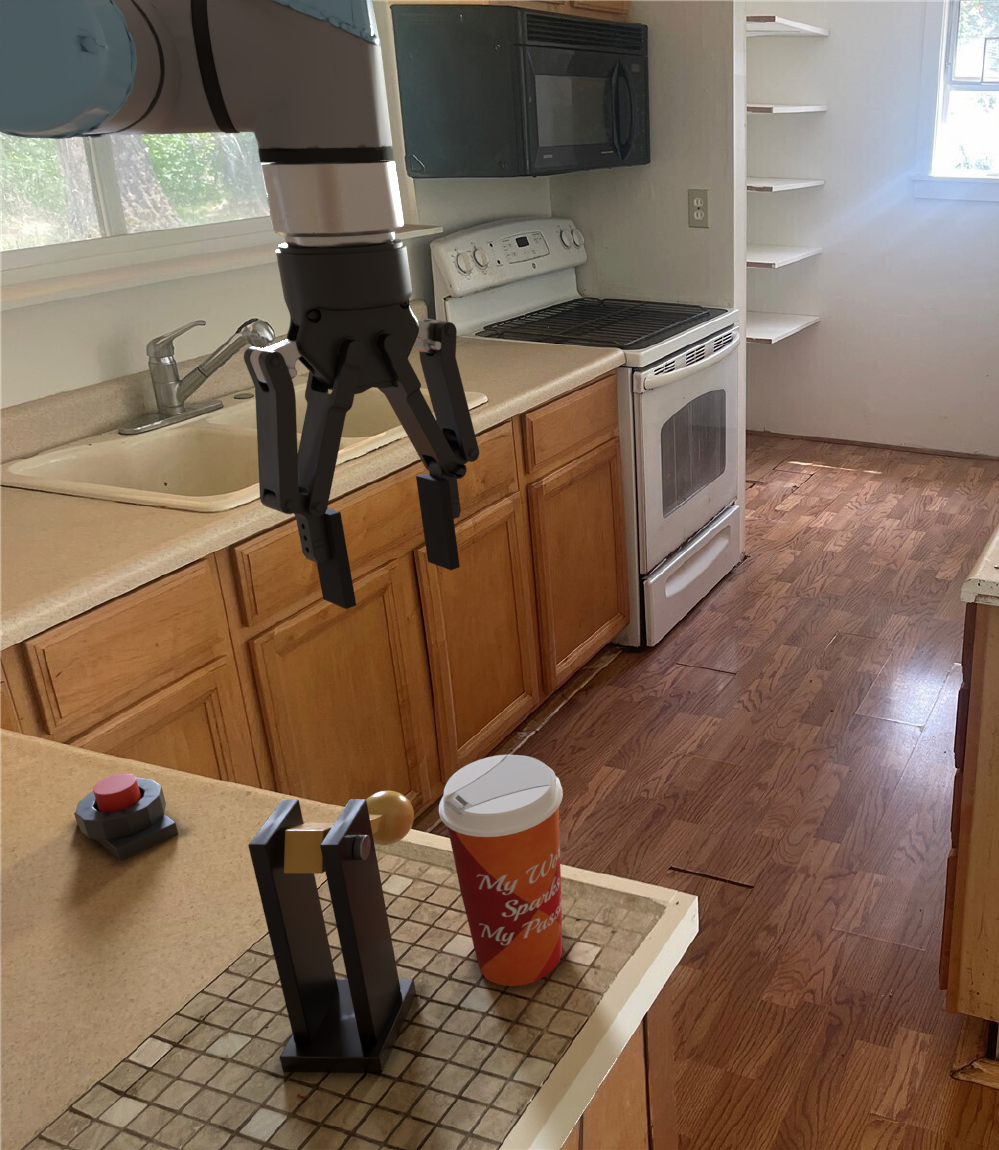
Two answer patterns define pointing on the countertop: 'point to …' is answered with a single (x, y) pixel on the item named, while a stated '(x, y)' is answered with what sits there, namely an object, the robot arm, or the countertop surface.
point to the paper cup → (508, 863)
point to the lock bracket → (301, 949)
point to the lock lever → (303, 841)
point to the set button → (116, 792)
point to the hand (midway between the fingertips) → (393, 582)
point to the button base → (128, 822)
